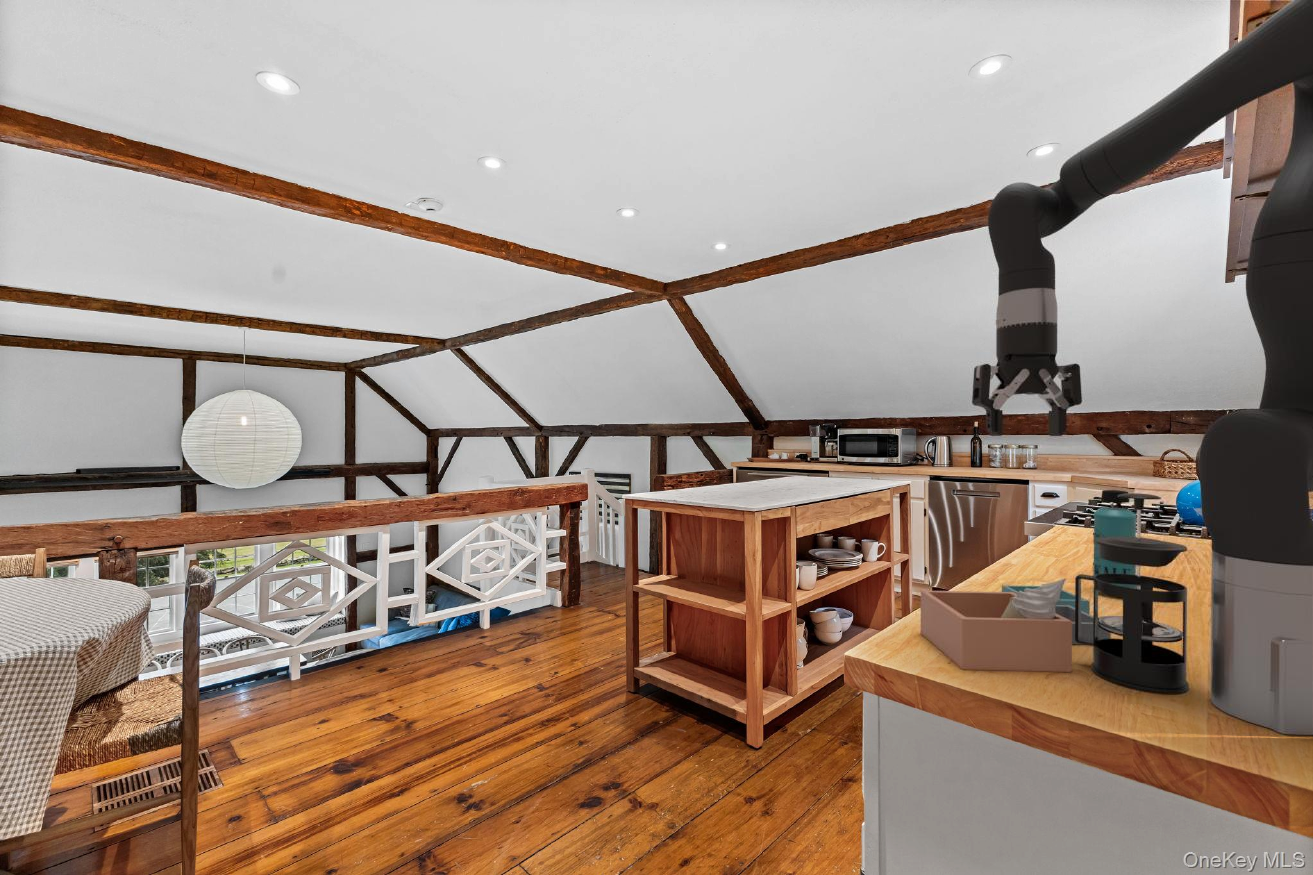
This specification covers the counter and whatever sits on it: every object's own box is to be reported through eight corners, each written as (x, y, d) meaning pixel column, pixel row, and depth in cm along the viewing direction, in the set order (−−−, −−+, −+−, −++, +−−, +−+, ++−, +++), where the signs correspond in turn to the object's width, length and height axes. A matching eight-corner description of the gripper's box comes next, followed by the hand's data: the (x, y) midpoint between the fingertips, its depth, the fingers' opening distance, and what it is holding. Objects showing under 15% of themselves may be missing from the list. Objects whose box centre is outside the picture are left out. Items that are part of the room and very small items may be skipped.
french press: (1200, 680, 72) (1201, 494, 71) (1192, 704, 65) (1193, 500, 65) (1084, 653, 80) (1085, 487, 80) (1067, 672, 74) (1068, 492, 74)
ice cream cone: (963, 635, 82) (1041, 563, 75) (981, 631, 85) (1057, 562, 78) (991, 666, 79) (1075, 595, 71) (1009, 662, 81) (1091, 592, 74)
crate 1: (1089, 619, 95) (1089, 600, 95) (1031, 617, 96) (1031, 599, 96) (1054, 602, 104) (1054, 586, 104) (1001, 601, 105) (1001, 585, 105)
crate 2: (1110, 644, 84) (1110, 624, 84) (1044, 643, 84) (1044, 622, 84) (1069, 624, 93) (1069, 605, 93) (1009, 622, 93) (1009, 604, 93)
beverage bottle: (1120, 592, 111) (1121, 488, 111) (1146, 602, 104) (1146, 492, 104) (1084, 591, 112) (1084, 488, 112) (1107, 601, 105) (1108, 491, 105)
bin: (1071, 671, 74) (1071, 621, 74) (962, 669, 75) (962, 619, 75) (1012, 635, 88) (1013, 592, 88) (920, 633, 88) (920, 590, 88)
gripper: (989, 320, 81) (989, 436, 81) (1094, 319, 80) (1094, 436, 81) (963, 330, 89) (963, 436, 89) (1059, 329, 88) (1059, 436, 88)
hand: (1026, 435), depth 85 cm, fingers open, 8 cm apart
